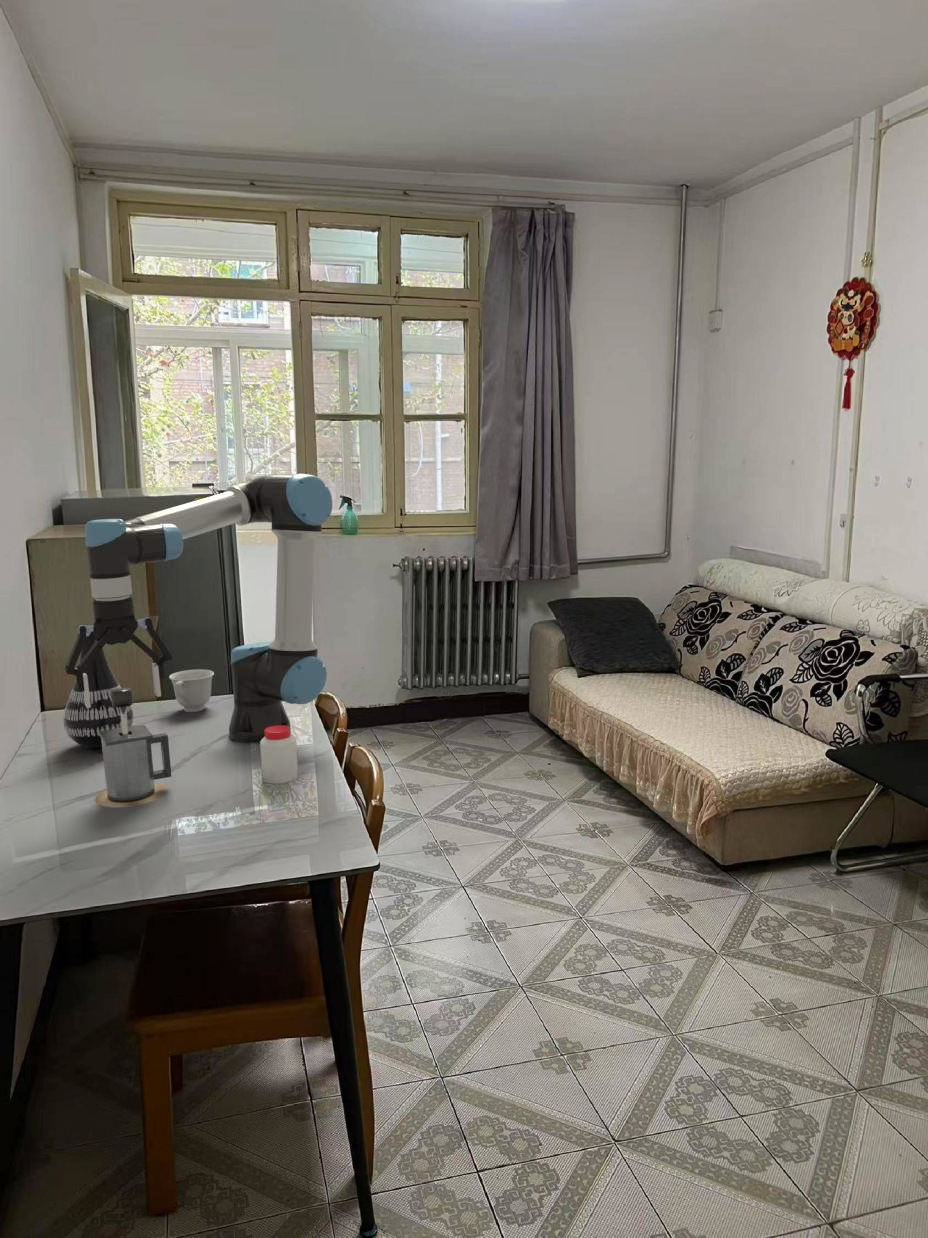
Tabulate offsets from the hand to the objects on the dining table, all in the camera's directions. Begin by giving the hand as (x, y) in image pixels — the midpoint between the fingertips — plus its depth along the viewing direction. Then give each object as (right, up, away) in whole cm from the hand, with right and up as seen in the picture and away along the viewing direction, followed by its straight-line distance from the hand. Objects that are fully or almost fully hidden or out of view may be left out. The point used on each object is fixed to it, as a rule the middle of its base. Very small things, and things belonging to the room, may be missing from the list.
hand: (123, 700), depth 187 cm
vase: (-20, -15, +39) cm, 46 cm away
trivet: (0, -20, +4) cm, 21 cm away
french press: (+2, -19, +4) cm, 20 cm away
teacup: (-6, -9, +68) cm, 69 cm away
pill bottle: (+29, -18, +13) cm, 37 cm away
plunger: (0, -17, +3) cm, 17 cm away
